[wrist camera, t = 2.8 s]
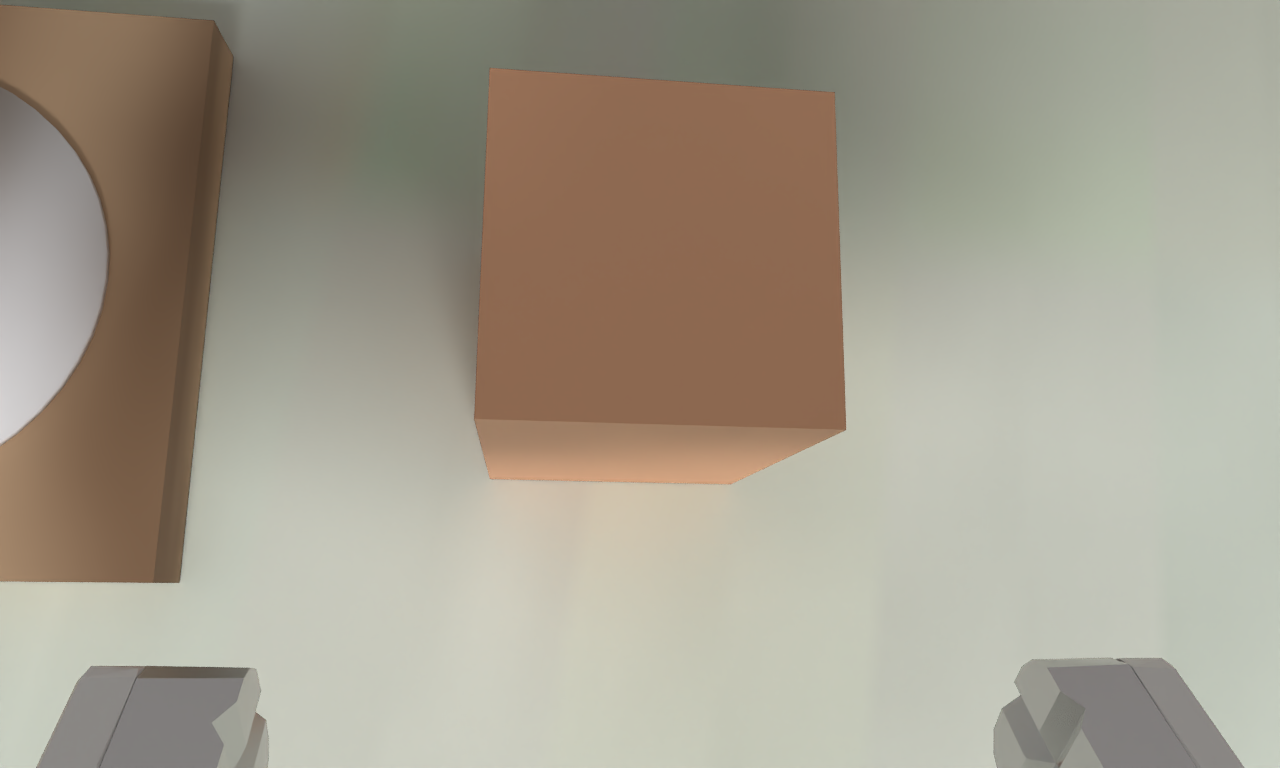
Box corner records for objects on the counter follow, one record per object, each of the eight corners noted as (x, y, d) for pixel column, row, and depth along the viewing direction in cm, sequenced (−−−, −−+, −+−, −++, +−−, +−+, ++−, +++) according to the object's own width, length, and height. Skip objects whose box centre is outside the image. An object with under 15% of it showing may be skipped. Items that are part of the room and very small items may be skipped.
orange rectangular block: (728, 257, 23) (834, 92, 15) (730, 484, 22) (845, 429, 14) (499, 246, 23) (489, 68, 15) (489, 478, 21) (474, 418, 14)
